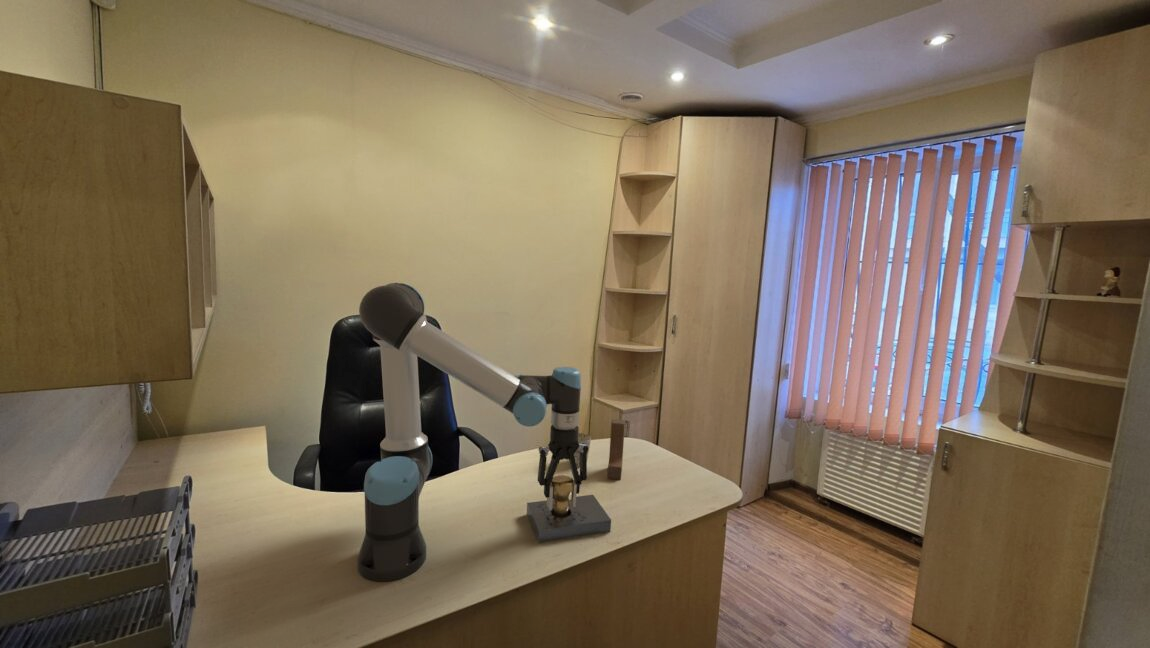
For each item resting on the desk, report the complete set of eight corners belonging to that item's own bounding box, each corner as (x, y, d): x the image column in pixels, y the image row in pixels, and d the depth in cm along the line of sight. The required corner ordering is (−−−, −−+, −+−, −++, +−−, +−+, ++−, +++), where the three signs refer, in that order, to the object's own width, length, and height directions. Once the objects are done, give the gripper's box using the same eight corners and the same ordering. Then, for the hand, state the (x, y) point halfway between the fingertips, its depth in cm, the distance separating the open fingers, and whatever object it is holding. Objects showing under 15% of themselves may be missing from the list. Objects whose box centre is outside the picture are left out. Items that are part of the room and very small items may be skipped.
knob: (553, 525, 125) (554, 486, 124) (547, 513, 131) (548, 476, 129) (574, 522, 127) (576, 484, 126) (567, 510, 133) (569, 474, 131)
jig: (538, 543, 120) (538, 530, 120) (526, 514, 133) (527, 502, 133) (610, 531, 127) (611, 519, 126) (592, 505, 140) (592, 494, 139)
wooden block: (620, 480, 157) (623, 428, 154) (607, 478, 157) (610, 427, 155) (622, 468, 165) (625, 419, 163) (609, 467, 166) (612, 418, 164)
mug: (564, 467, 164) (565, 440, 163) (570, 453, 177) (571, 427, 175) (587, 470, 163) (589, 442, 162) (592, 455, 175) (593, 430, 174)
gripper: (533, 432, 119) (530, 517, 122) (602, 427, 125) (598, 508, 128) (526, 422, 126) (524, 503, 129) (593, 418, 132) (588, 495, 135)
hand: (561, 505), depth 129 cm, fingers closed on knob, 6 cm apart
